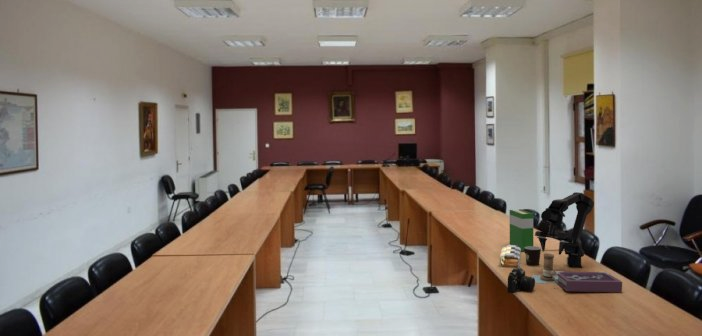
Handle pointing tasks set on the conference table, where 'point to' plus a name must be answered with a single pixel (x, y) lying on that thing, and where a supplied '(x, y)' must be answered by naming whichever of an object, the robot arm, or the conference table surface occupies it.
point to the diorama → (510, 253)
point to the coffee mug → (532, 255)
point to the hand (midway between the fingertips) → (551, 253)
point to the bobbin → (548, 268)
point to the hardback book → (521, 229)
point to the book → (588, 281)
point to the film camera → (519, 281)
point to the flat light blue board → (538, 280)
